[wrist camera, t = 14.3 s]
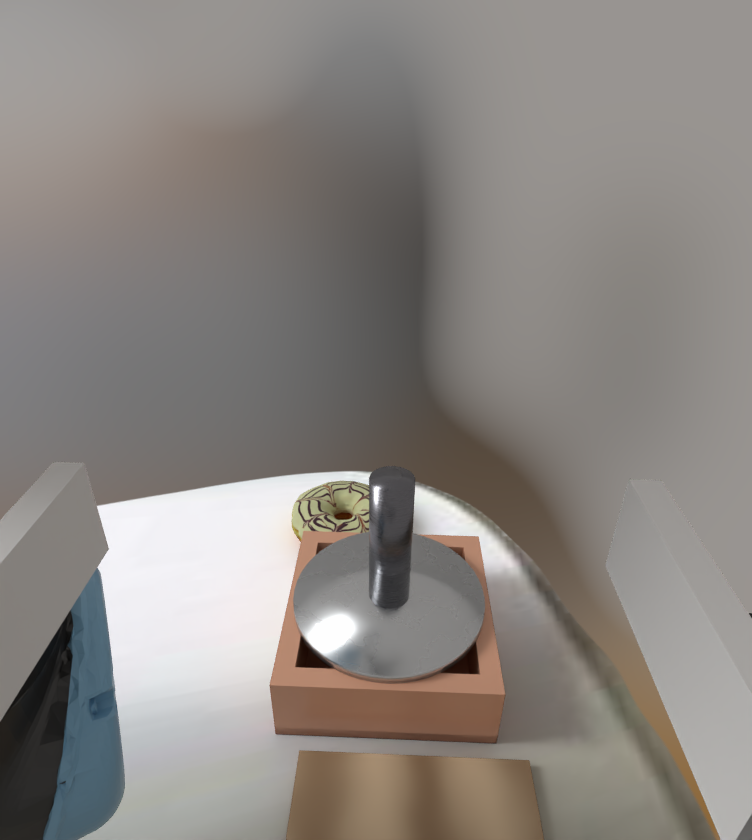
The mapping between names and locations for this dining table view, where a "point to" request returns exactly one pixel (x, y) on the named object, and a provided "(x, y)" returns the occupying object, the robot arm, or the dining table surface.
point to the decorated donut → (332, 508)
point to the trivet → (412, 798)
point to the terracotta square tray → (388, 703)
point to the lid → (389, 595)
